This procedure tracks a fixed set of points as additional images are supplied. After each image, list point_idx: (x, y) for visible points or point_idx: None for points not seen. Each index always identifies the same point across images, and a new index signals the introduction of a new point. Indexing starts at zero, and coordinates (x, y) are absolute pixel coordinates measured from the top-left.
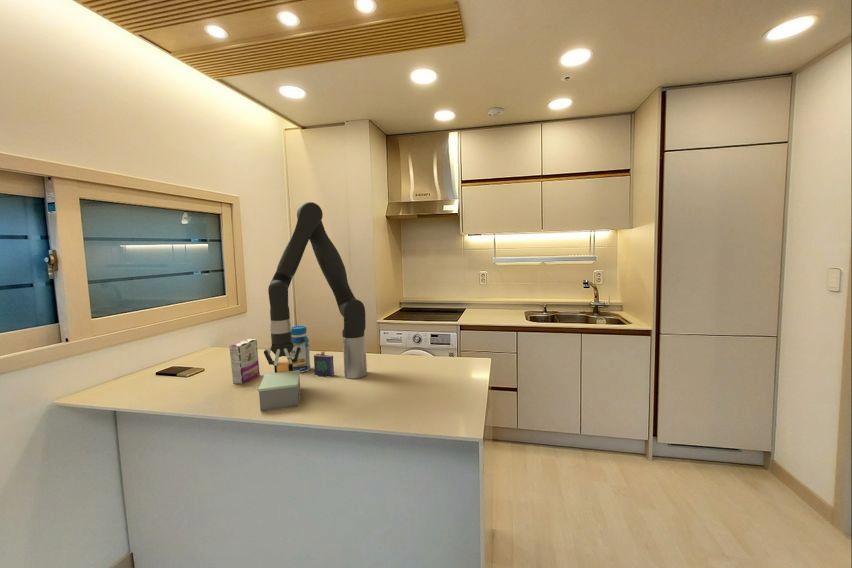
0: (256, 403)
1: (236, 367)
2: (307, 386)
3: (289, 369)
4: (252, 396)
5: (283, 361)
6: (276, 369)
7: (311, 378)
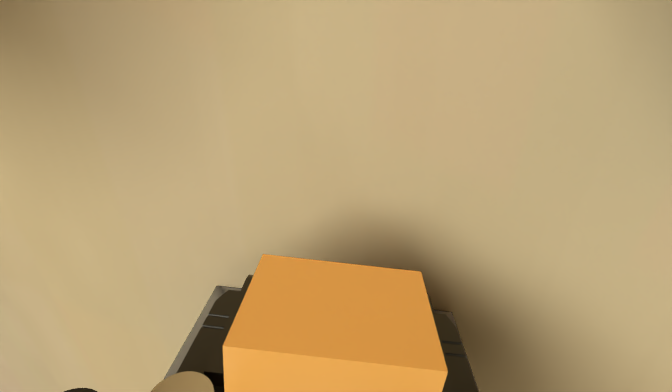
0: None
1: None
2: (516, 271)
3: None
4: (119, 279)
5: (322, 382)
6: None
7: (622, 74)
